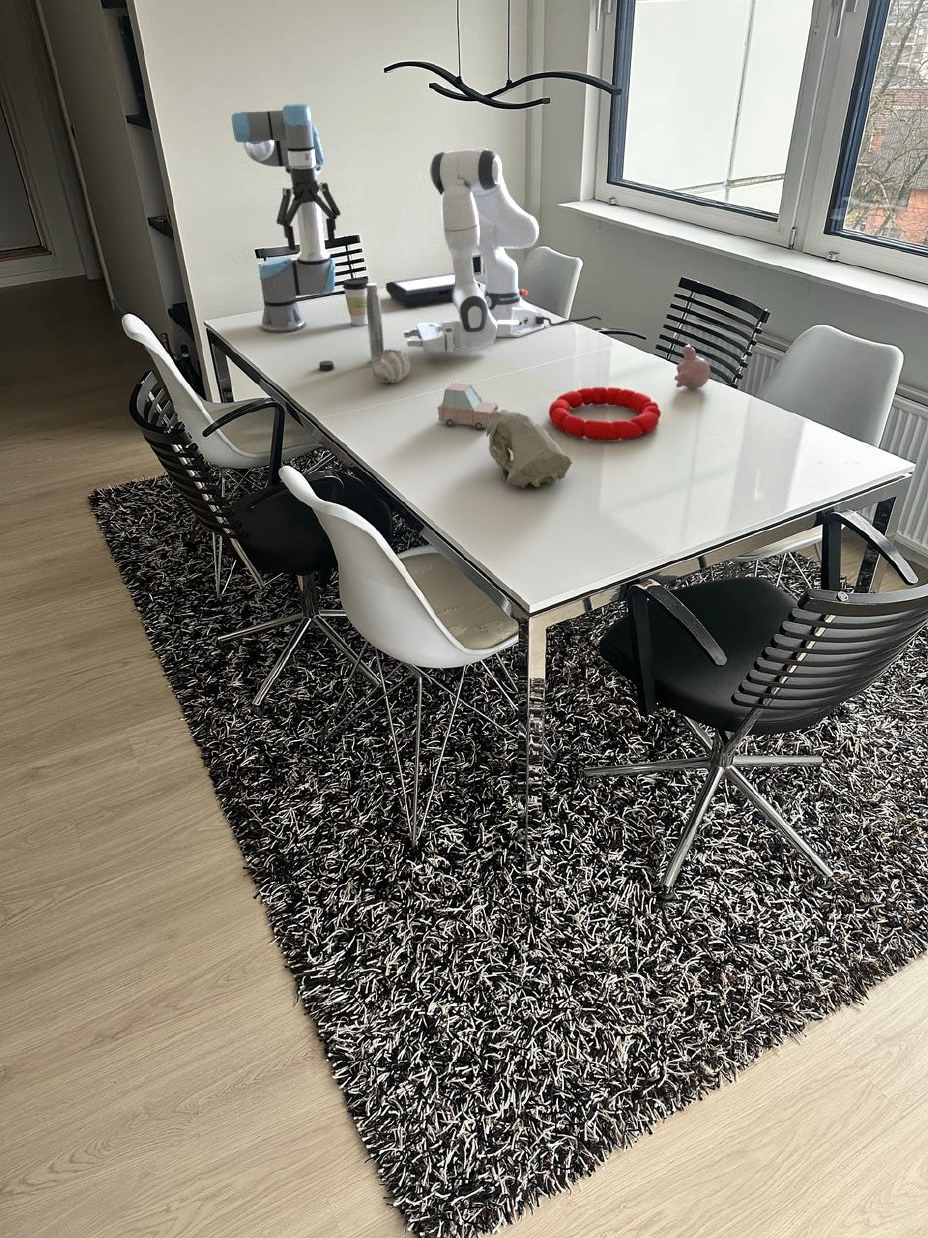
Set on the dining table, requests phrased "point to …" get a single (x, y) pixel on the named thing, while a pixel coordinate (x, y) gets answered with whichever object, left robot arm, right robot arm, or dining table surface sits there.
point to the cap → (326, 365)
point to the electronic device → (422, 290)
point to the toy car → (465, 406)
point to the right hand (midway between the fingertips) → (405, 338)
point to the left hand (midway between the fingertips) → (312, 245)
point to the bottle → (374, 320)
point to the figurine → (692, 370)
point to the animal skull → (525, 450)
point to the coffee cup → (356, 300)
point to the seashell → (390, 366)
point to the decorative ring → (604, 428)
